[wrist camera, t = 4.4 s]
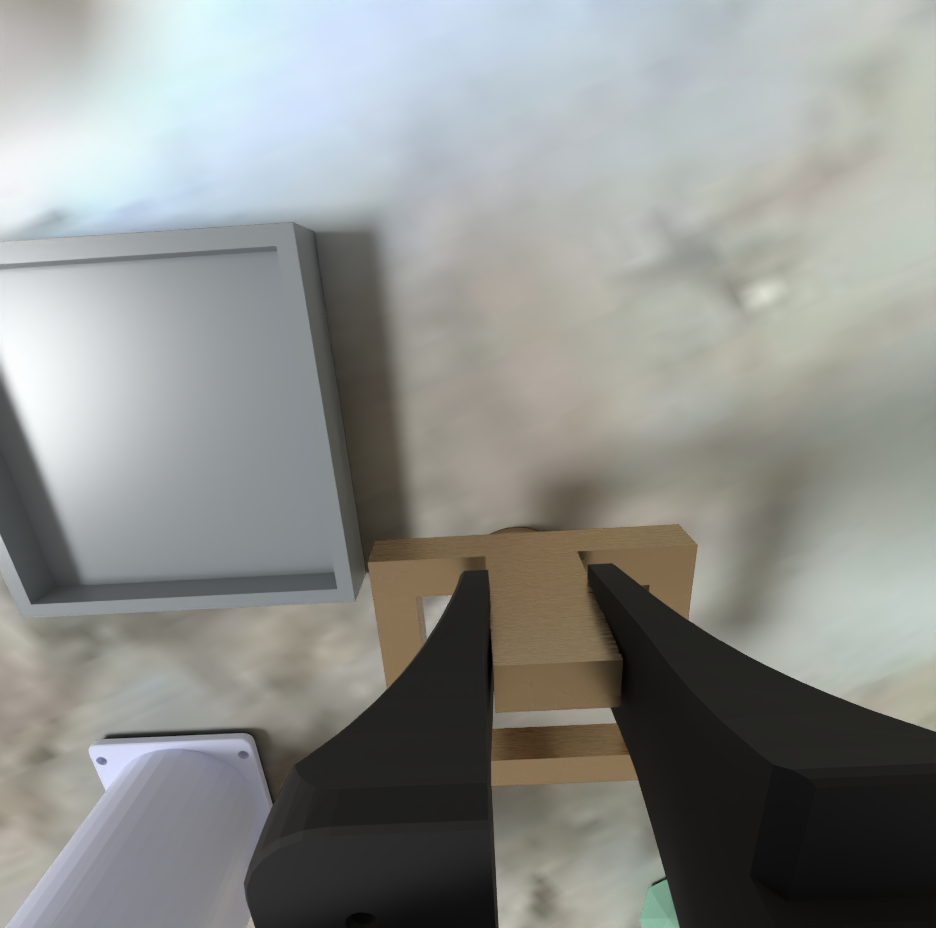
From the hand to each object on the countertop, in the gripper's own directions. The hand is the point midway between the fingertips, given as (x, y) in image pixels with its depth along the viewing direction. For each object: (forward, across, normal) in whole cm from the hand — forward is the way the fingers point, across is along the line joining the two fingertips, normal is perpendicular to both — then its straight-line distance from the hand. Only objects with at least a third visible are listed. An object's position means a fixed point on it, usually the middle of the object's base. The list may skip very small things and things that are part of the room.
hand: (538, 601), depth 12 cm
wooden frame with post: (+2, 0, +4) cm, 5 cm away
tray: (+7, +13, -3) cm, 15 cm away
